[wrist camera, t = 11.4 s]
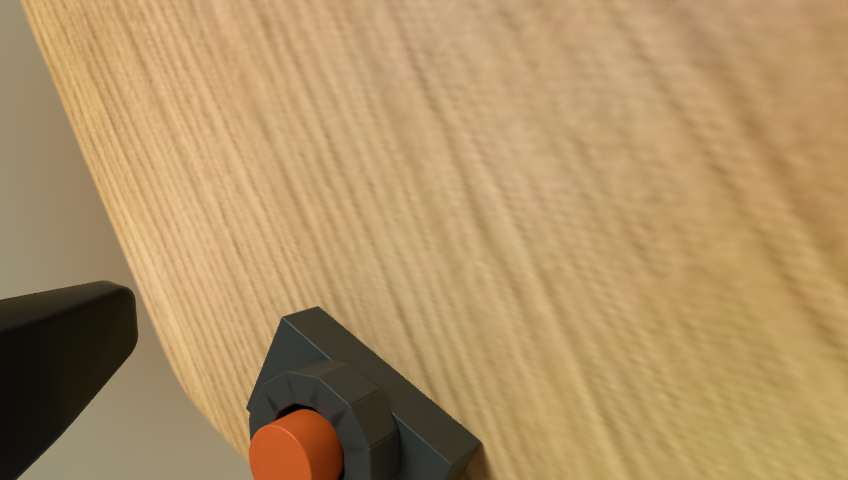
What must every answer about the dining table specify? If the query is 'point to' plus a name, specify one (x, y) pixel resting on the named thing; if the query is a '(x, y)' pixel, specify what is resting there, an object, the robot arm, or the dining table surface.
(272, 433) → the button
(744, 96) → the dining table surface
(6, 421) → the robot arm
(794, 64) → the dining table surface
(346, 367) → the control block
